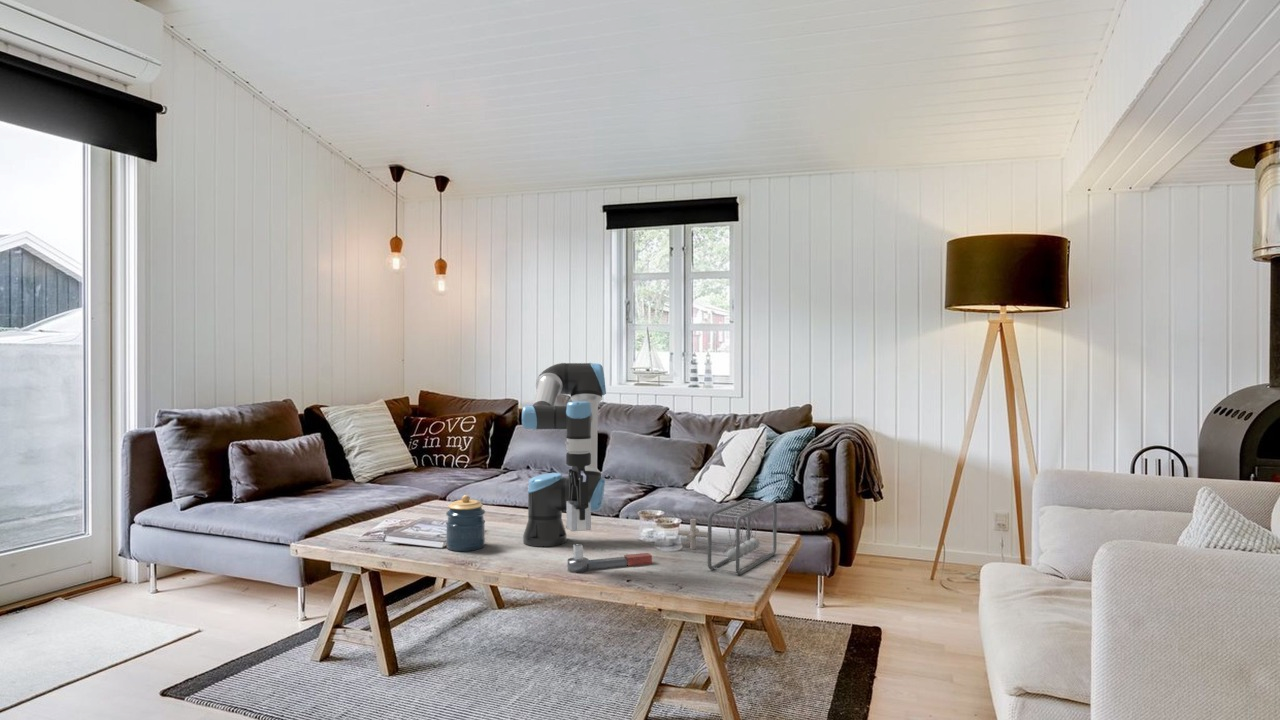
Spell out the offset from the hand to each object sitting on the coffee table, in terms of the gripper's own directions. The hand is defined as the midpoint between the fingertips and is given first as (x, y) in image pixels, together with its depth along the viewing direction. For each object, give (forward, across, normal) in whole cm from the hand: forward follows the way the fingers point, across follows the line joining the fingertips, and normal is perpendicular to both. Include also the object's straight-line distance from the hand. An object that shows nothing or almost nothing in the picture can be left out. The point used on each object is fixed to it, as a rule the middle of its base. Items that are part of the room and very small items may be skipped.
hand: (578, 527), depth 224 cm
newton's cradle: (+13, +9, +52) cm, 54 cm away
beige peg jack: (+13, -10, +43) cm, 46 cm away
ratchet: (+13, 0, +10) cm, 16 cm away
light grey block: (0, 0, 0) cm, 0 cm away
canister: (+13, -38, -29) cm, 50 cm away
